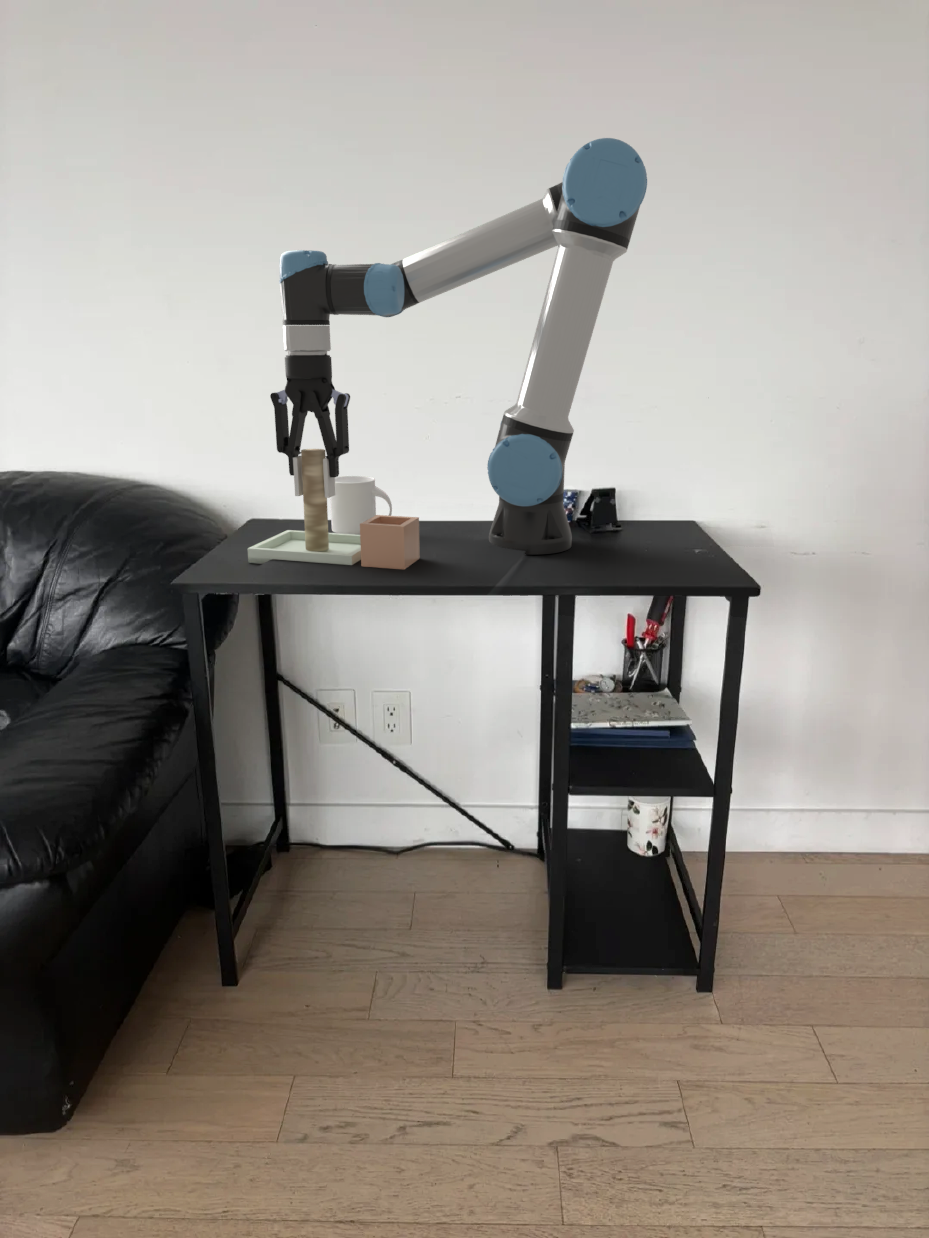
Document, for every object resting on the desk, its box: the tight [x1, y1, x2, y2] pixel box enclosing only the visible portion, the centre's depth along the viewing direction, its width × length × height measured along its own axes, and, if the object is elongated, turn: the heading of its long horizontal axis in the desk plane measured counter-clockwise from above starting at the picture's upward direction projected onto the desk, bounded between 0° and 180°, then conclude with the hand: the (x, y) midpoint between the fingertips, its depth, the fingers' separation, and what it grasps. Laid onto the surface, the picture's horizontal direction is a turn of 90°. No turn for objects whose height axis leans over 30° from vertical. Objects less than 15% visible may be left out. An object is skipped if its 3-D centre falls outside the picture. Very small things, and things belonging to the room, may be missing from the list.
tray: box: [246, 529, 361, 566], centre depth 153 cm, size 19×15×2 cm
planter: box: [359, 514, 421, 570], centre depth 145 cm, size 8×8×8 cm
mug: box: [329, 475, 393, 535], centre depth 168 cm, size 9×12×11 cm
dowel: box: [300, 448, 329, 551], centre depth 150 cm, size 4×4×17 cm
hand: (315, 495), depth 150 cm, fingers open, 5 cm apart
